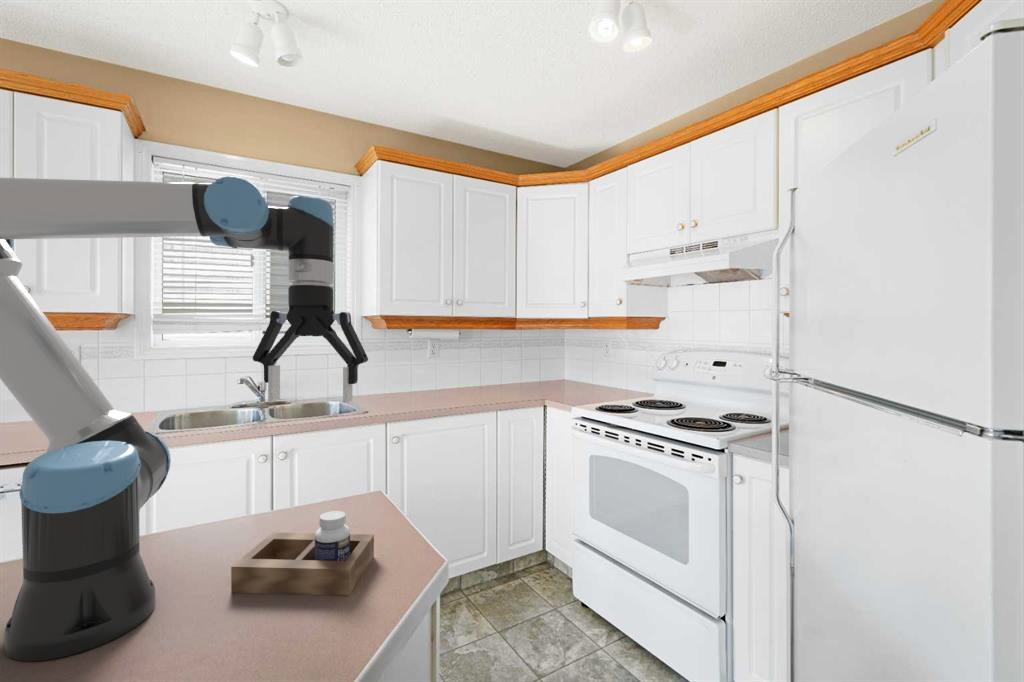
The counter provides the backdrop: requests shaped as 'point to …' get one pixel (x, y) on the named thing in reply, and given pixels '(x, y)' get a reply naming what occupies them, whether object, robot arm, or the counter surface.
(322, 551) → the pill bottle
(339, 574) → the socket board
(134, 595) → the robot arm
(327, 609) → the counter surface
